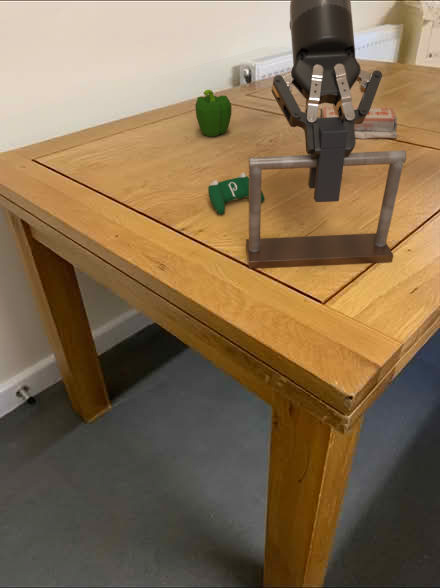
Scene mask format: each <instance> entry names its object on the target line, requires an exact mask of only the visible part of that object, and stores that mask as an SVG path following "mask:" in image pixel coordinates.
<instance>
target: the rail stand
mask: <svg viewBox="0 0 440 588" xmlns="http://www.w3.org/2000/svg"><path fill="white" fill-rule="evenodd" d="M406 162H407V151H406V150H403V149H401V150H382V151H381V150H380V151H359V152H351V153H350V154H349V156H348V157H344V165H343V167H356V166H360V167H361V166H377V165H378V166H381V165H389V166H388V170H387V176H386V182H385V186H384V190H383V191H384V192H383V197H382V200H381V201H382V202H381V207H380V212H379V216H378V222H377V228H376V232H375V233H353V234H352V233H350V234H331V235H309V236H288V237H265V238H264V237H263V238H262V237H261V221H262V219H261V217H262V216H261V215H262V203H261V191H262V172H263V171H268V170H269V171H271V170H272V171H273V170H293V169H310V168H316V167H317V159H312V157H311V154H295V155H293V154H292V155H291V154H290V155H272V156H271V155H269V156H250V157H248V178H249V198H248V238H245V250H246V257H247V264H248V269H251V270H252V269H268V268H269V269H270V268H271V269H272V268H292V267H295V268H296V267H314V266H336V265H338V266H339V265H359V264H361V265H362V264H382V263H392V262H393V259H394V252H392V250H391V248H390V247H389V245H388V243H387V241H388V237H389V232H390V227H391V222H392V219H393V213H394V208H395V204H396V199H397V195H398V191H399V185H400V181H401V176H402V171H403V167H404V164H405V163H406Z"/></svg>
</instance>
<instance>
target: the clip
mask: <svg viewBox="0 0 440 588" xmlns="http://www.w3.org/2000/svg"><path fill="white" fill-rule="evenodd" d="M316 123H319V136H320V148H321V153H320V155H319V157H318V159H317V167H316V168H309V172H308V182H307V183H308V184H307V185H308V188H309V190H312V189H313V190H314V191H313V200H314V202H315V203H333V202H334V203H335V202H340V196H341V195H340V194H341V187H342V186H341V185H342V179H343V173H344V172H343V171H344V166H343V165H344V157H345V147H346V141H347V133H348V131H347V129H346V128H345V127H344V125H343V124H342V122H341V121H340V120H339V118H338V117H328V118H317V119H316Z"/></svg>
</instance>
